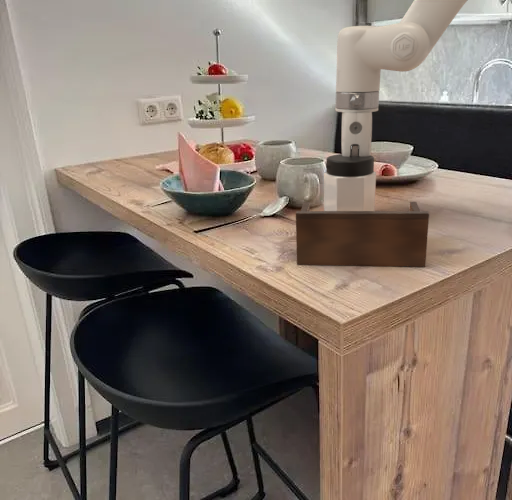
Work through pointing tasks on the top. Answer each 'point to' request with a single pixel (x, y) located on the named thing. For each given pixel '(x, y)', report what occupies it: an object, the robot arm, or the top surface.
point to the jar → (349, 183)
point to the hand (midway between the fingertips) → (352, 202)
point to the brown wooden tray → (362, 237)
